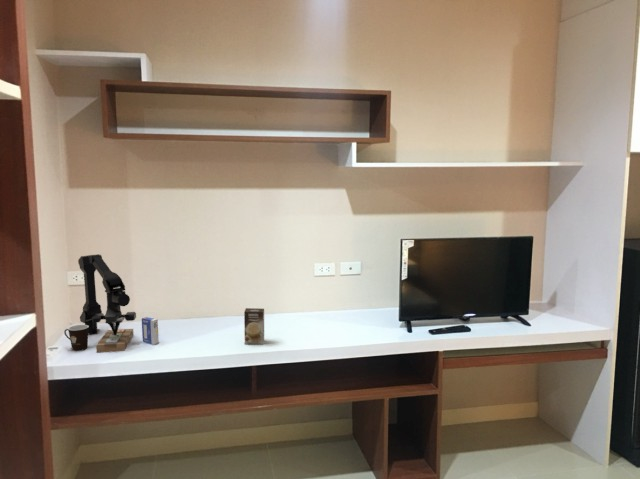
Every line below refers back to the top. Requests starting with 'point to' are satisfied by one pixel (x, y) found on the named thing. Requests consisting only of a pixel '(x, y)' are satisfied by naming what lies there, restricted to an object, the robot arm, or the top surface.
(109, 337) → the three-pip button
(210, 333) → the top surface
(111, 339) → the one-pip button
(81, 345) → the coffee mug
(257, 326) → the coffee box
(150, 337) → the walkman
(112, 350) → the button board
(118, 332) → the two-pip button
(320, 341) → the top surface
